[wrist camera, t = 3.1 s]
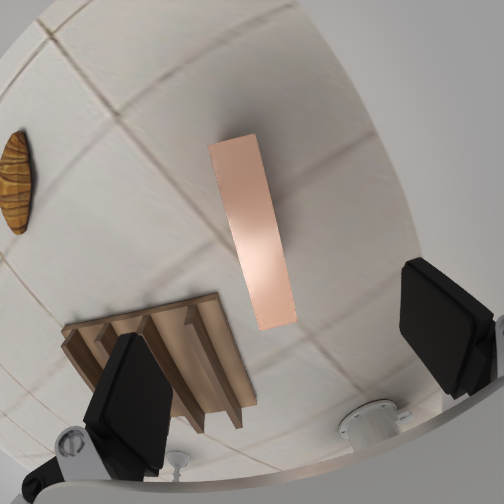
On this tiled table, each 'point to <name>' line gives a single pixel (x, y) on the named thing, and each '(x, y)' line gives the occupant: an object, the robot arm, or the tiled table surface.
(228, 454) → the tiled table surface
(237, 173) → the pink rectangular block
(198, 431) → the slot rack
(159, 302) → the tiled table surface
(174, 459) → the chalice
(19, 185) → the croissant
